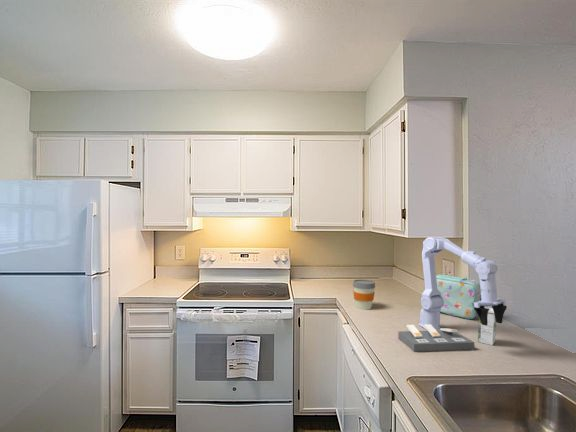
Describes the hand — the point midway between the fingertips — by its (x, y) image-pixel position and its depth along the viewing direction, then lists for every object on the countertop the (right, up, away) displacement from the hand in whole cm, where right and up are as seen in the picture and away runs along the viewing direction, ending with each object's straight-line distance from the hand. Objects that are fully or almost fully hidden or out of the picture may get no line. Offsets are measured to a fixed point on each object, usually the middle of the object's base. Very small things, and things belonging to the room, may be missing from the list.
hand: (491, 324), depth 137 cm
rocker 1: (-29, -5, +7) cm, 30 cm away
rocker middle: (-21, -5, +8) cm, 23 cm away
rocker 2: (-13, -6, +9) cm, 17 cm away
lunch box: (+8, -10, +47) cm, 49 cm away
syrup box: (+3, -11, +8) cm, 14 cm away
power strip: (-21, -10, +5) cm, 24 cm away
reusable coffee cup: (-40, -9, +57) cm, 70 cm away
